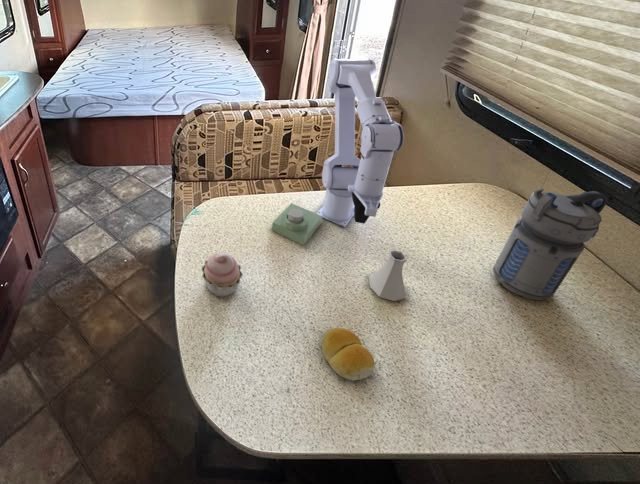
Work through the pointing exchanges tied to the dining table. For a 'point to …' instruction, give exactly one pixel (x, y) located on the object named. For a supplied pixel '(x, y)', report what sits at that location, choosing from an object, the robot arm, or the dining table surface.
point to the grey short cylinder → (295, 215)
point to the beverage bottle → (547, 242)
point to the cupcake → (221, 274)
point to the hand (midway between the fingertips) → (359, 221)
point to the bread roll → (347, 354)
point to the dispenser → (297, 225)
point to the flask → (390, 278)
